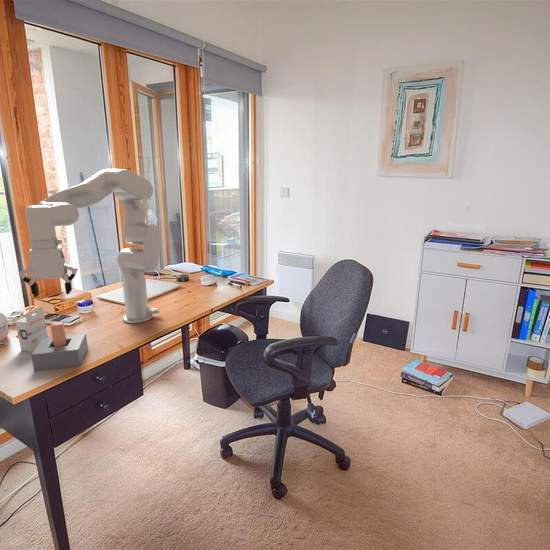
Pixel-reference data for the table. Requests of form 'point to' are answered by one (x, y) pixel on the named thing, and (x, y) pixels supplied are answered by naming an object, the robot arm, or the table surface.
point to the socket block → (60, 353)
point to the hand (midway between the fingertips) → (52, 294)
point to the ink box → (31, 330)
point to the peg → (58, 334)
